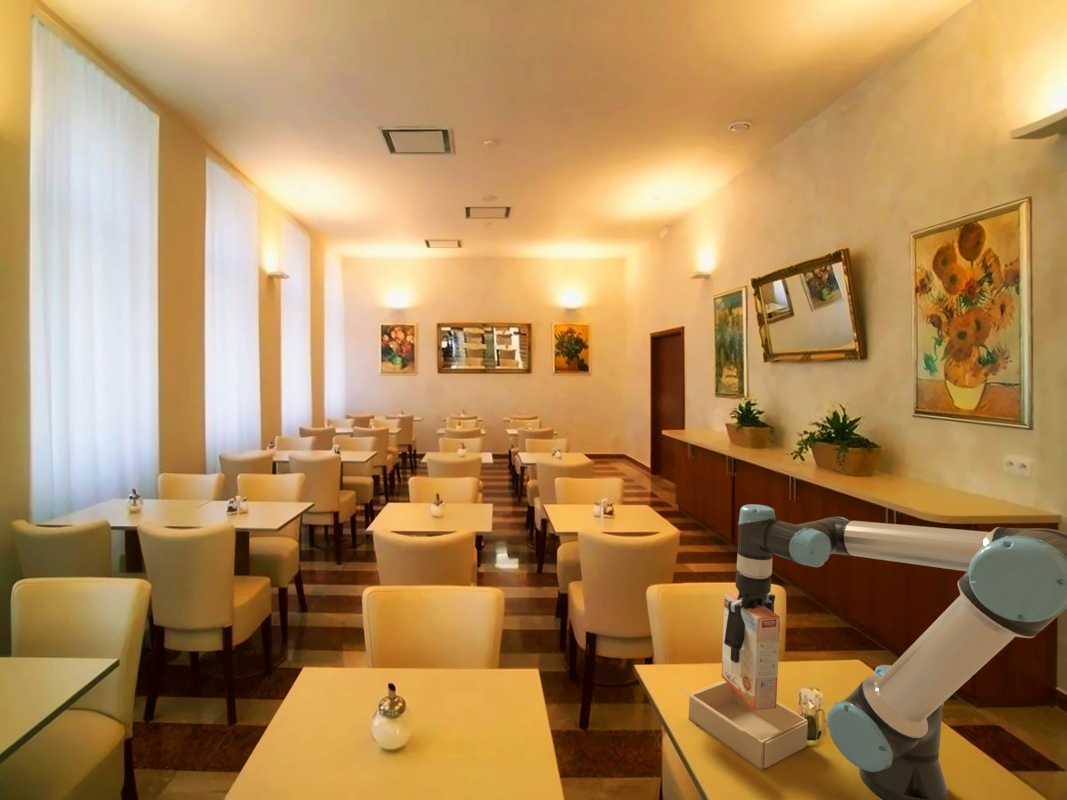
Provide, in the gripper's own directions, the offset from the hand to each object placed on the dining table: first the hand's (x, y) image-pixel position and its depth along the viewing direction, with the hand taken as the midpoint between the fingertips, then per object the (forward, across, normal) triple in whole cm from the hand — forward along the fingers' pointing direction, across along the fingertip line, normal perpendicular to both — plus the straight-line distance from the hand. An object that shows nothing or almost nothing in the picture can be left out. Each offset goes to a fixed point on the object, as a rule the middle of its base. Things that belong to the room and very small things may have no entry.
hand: (748, 670), depth 131 cm
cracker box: (+5, 0, 0) cm, 5 cm away
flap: (+9, +8, 0) cm, 12 cm away
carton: (+15, 0, 0) cm, 15 cm away
